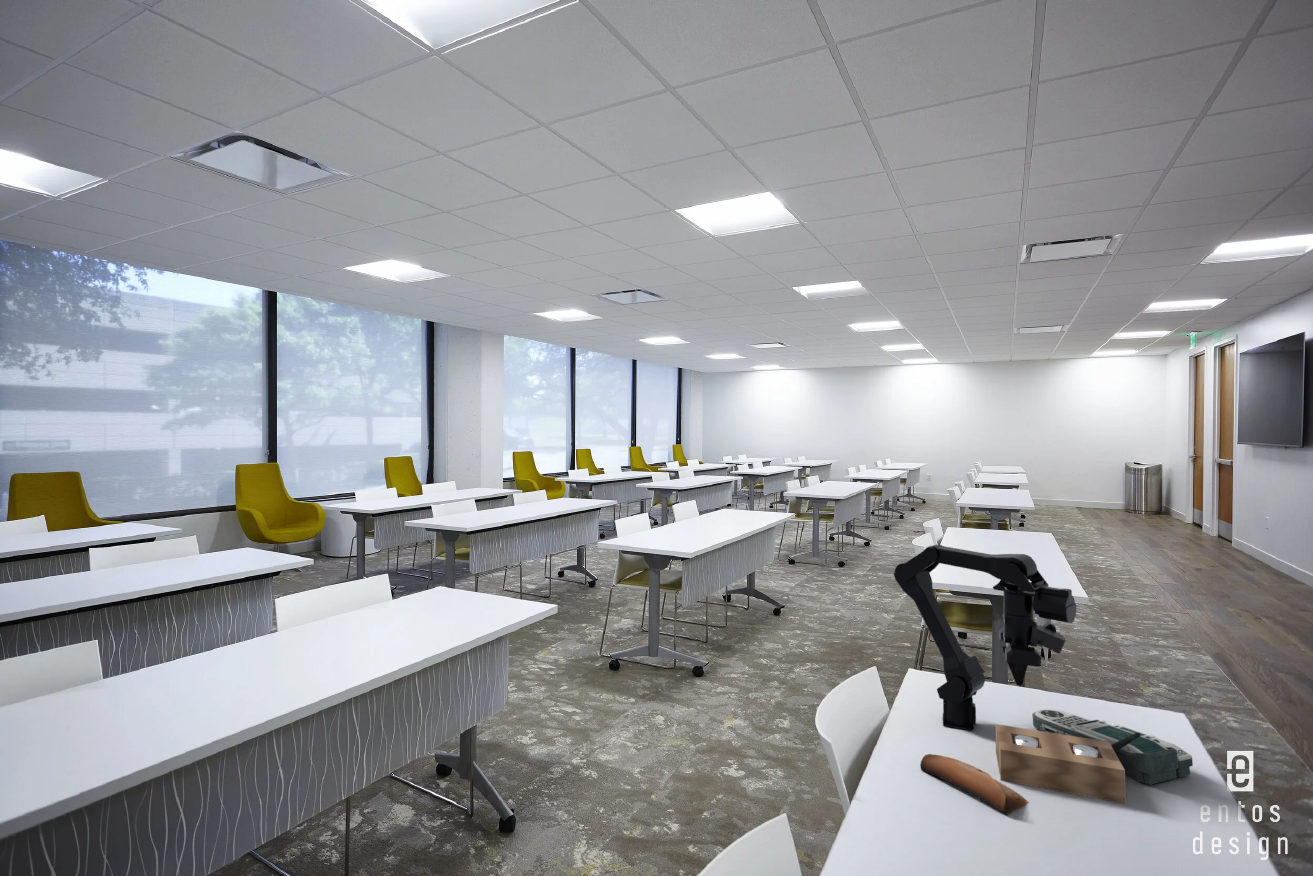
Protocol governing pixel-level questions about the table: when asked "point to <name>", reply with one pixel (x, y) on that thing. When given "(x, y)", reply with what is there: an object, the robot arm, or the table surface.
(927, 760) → the sunglasses case
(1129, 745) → the communication device
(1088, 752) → the pin
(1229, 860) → the table surface
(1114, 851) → the table surface
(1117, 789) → the pin block
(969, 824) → the table surface
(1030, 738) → the pin
